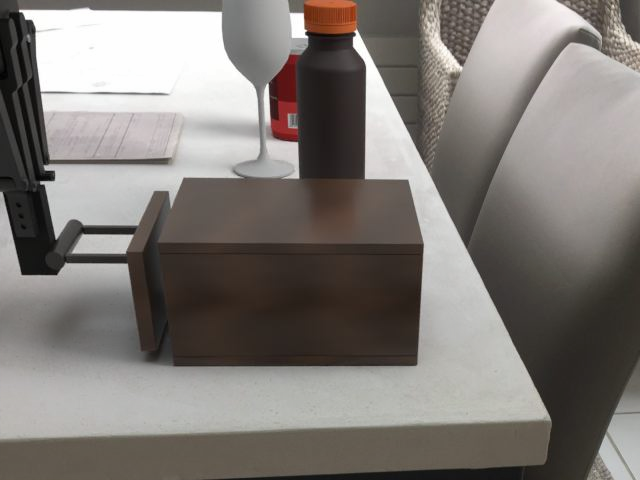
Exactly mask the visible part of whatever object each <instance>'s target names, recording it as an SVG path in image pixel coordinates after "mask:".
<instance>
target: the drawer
mask: <svg viewBox="0 0 640 480" xmlns="http://www.w3.org/2000/svg"><path fill="white" fill-rule="evenodd" d="M171 208H172V206H171V197H170V192H169V191H168V190H154V191H153V193H152V195H151V197H150V199H149V201H148V204H147V206H146V207H145V210H144V212H143V213H142V214H143V215H142V216H141V219H140V221H139V223H138V225H136V224H135V225H130V224H129V225H127V224H126V225H123V224H122V225H120V224H119V225H118V224H110V225H109V224H106V225H105V224H83V222H81V221H80V220H78V219H76V218H75V219H74V218H73V219H70V220H68V221H67V223H66V224H65V226H63V229H62V230H61V232H60V233H59V235H58V236H57V238H56V241H55V243H54V244H53V246H52V247H51V249H50V250H49V252H48V253H47V255H46V258H45V260H46V263H47V265H48V266H49V267H50V268H52V269H56V270H58V269H61V270H62V269H63V268H64V267H65V266H66V264H73V265H74V264H76V265H77V264H78V265H79V264H91V265H92V264H94V265H95V264H96V265H97V264H99V265H100V264H102V265H103V264H104V265H105V264H106V265H107V264H108V265H109V264H110V265H112V264H115V265H119V264H120V265H121V264H122V265H127V269H128V275H129V282H130V289H131V294H132V301H133V307H134V314H135V319H136V327H137V328H136V329H137V333H138V340H139V344H140V345H139V347H140V351H141V352H157V351H158V349H159V345H160V343H161V339H162V336H163V333H164V330H165V327H166V325H167V322H168V319H167V311H166V304H165V296H164V289H163V281H162V273H161V266H160V258H159V251H158V244H157V242H158V240H159V237H160V235H161V232H162V230H163V228H164V225H165V223H166V220H167V218H168V215H169V213H170V210H171ZM83 235H86V236H87V235H91V236H92V235H94V236H95V235H98V236H102V235H103V236H104V235H105V236H113V235H115V236H132V238H131V240H130V242H129V244H128V247H127V248H126V250H125V253H88V252H87V253H84V252H83V253H79V252H78V253H73V251H74V250H75V248H76V247H77V245H78V243H79V242H80V240H81V238H82V237H83Z"/></svg>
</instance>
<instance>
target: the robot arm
mask: <svg viewBox="0 0 640 480" xmlns="http://www.w3.org/2000/svg"><path fill="white" fill-rule="evenodd" d="M36 33H37V27H36V25H35V22H34V20H33V19H26V17H25V14H24V12H22V11H20V6H19V2H18V0H0V193H2V196H3V201H4V205H5V209H6V214H7V218H8V221H9V227H10V231H11V235H12V239H13V240H12V241H13V242H14V247H15V252H16V257H17V261H18V266H19V269H20V270H19V271H20V274H21V276H58V274H59V273H60V271H61V270H62V268H61V269H58V270H56V269H52V268H50V267H49V266H48V265H47V263H46V260H45V258H46V255H47V253H48V252H49V250H50V249H51V247H52V246H53V244H54V243H55V241H56V239H57V238H56V234H55V228H54V223H53V219H52V214H51V209H50V208H51V207H50V203H49V199H48V194H47V190H46V189H47V188H46V185H45V183H43V184H41V182H55V181H56V170H49V169H48V170H47V169H45V166H49V165H50V162H51V156H50V152H49V145H48V136H47V129H46V121H45V113H44V105H43V98H42V90H41V82H40V76H39V75H40V74H39V68H38V67H39V66H38V59H37V36H36V35H37V34H36Z"/></svg>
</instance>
